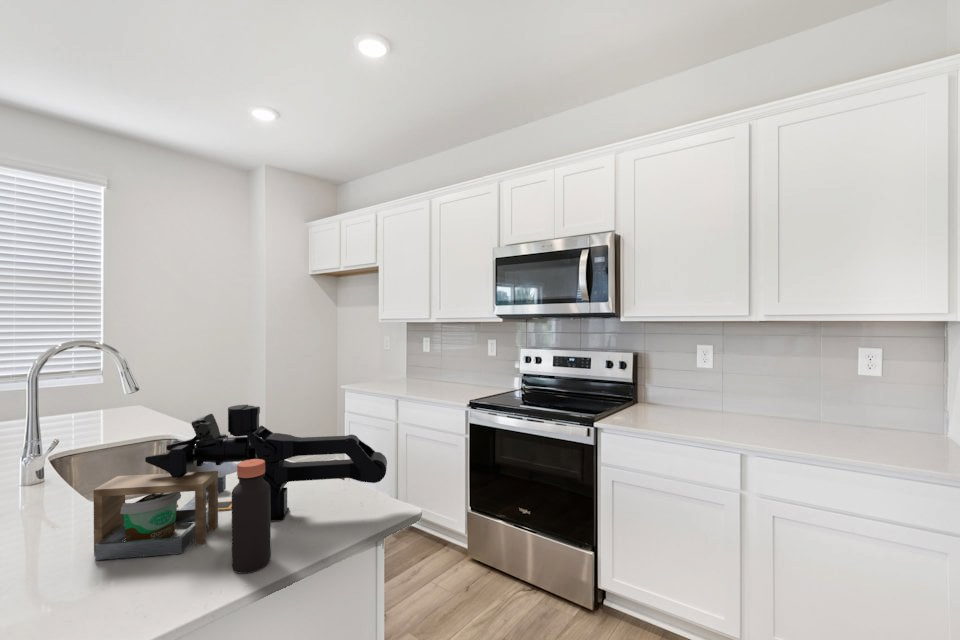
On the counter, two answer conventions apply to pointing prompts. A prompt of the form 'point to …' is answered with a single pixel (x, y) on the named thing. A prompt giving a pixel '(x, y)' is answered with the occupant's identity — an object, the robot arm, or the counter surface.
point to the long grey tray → (119, 548)
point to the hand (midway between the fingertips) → (156, 453)
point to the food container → (151, 516)
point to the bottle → (251, 518)
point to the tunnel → (114, 492)
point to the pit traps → (224, 505)
